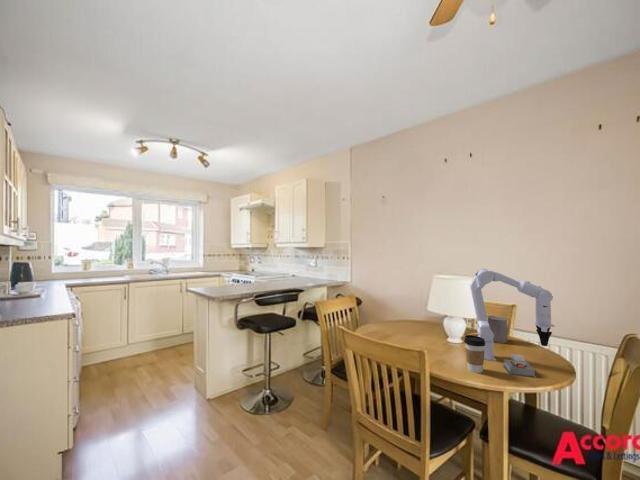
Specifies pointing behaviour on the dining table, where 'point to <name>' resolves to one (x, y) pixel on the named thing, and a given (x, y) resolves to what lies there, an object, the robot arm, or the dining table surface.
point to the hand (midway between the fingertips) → (543, 343)
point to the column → (518, 360)
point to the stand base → (519, 369)
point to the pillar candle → (498, 328)
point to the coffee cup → (474, 353)
